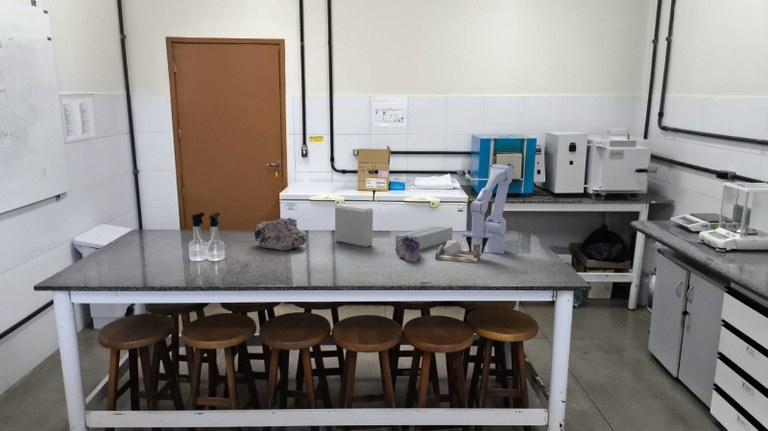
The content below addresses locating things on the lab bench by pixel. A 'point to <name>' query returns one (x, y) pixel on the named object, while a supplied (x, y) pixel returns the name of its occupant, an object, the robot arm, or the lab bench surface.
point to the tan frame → (475, 252)
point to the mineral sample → (279, 234)
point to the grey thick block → (353, 225)
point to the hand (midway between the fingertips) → (476, 252)
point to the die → (452, 248)
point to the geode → (408, 249)
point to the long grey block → (429, 236)
